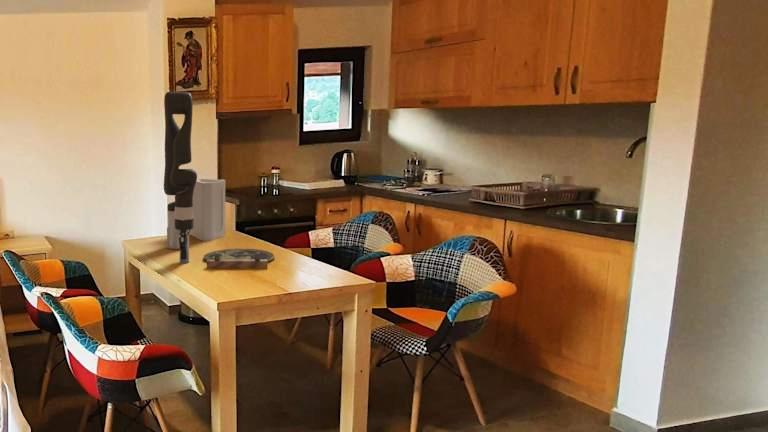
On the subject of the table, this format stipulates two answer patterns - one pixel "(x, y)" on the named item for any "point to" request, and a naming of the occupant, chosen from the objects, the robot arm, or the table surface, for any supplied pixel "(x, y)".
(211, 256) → the decorative plate
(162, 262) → the table surface
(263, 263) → the bench stop
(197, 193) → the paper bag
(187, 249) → the dowel
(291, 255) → the table surface
